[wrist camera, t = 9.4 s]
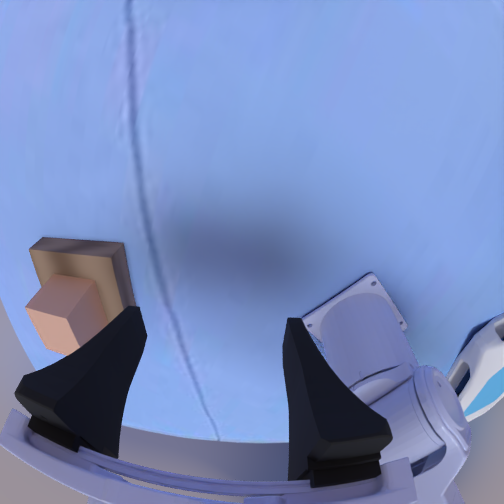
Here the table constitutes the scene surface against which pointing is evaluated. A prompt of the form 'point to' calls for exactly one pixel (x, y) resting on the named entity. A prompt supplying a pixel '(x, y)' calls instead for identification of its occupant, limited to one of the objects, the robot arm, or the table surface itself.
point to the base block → (88, 268)
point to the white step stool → (481, 370)
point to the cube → (67, 313)
